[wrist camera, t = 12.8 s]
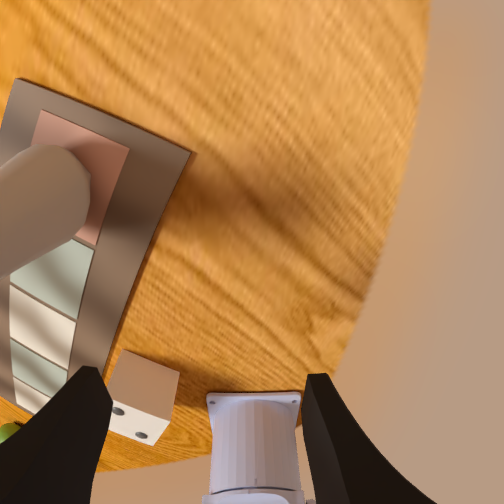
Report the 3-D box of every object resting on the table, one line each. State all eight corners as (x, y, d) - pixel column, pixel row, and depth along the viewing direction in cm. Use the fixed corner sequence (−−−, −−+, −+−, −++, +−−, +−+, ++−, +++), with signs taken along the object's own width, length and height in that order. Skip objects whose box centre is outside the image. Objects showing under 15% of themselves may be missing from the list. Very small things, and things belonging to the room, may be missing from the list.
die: (162, 401, 26) (152, 446, 22) (111, 380, 25) (95, 424, 21) (180, 371, 24) (170, 422, 20) (122, 347, 23) (103, 396, 19)
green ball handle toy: (37, 444, 34) (16, 503, 23) (3, 421, 32) (-22, 479, 21) (43, 436, 32) (19, 501, 21) (6, 411, 30) (-23, 475, 19)
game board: (84, 439, 31) (83, 442, 31) (-1, 392, 28) (-3, 395, 28) (191, 152, 16) (190, 153, 16) (17, 78, 13) (14, 78, 13)
